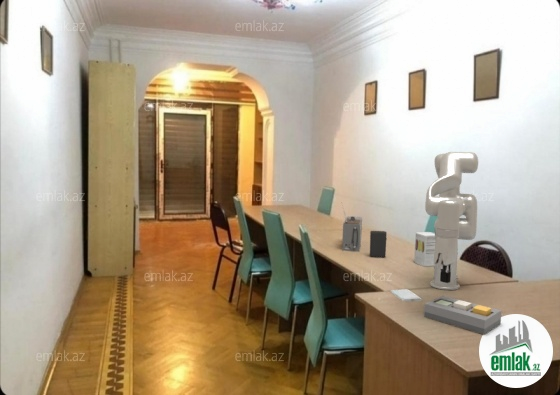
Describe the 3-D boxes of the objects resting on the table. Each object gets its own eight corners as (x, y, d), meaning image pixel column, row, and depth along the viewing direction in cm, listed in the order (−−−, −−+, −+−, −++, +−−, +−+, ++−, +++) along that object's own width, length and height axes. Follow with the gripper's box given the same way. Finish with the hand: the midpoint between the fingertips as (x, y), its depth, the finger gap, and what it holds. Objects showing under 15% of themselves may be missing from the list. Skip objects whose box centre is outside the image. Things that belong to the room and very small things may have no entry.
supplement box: (413, 262, 249) (414, 232, 247) (427, 261, 252) (429, 231, 250) (424, 266, 240) (425, 235, 238) (438, 265, 243) (440, 234, 241)
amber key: (477, 311, 162) (478, 304, 162) (491, 315, 159) (491, 308, 159) (472, 314, 159) (472, 307, 159) (485, 318, 156) (486, 311, 156)
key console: (442, 307, 177) (442, 295, 177) (500, 324, 162) (501, 310, 161) (424, 316, 168) (424, 303, 167) (484, 334, 152) (485, 320, 151)
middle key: (458, 306, 168) (459, 300, 167) (471, 309, 164) (471, 303, 164) (453, 309, 164) (453, 302, 164) (465, 312, 161) (466, 306, 161)
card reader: (385, 256, 262) (386, 230, 261) (386, 258, 259) (387, 232, 257) (369, 255, 264) (370, 230, 262) (369, 257, 260) (370, 231, 258)
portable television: (361, 244, 296) (363, 198, 293) (359, 252, 273) (361, 202, 270) (343, 243, 299) (344, 197, 296) (339, 250, 276) (341, 201, 273)
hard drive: (390, 290, 196) (403, 299, 184) (408, 289, 198) (422, 297, 186) (390, 293, 197) (403, 302, 184) (407, 292, 198) (421, 301, 186)
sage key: (440, 306, 173) (441, 299, 172) (452, 309, 169) (452, 303, 169) (434, 309, 170) (435, 302, 169) (446, 312, 166) (446, 305, 166)
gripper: (447, 229, 174) (445, 275, 176) (428, 234, 164) (425, 283, 166) (466, 232, 169) (464, 280, 171) (447, 237, 159) (445, 288, 161)
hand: (445, 281), depth 168 cm, fingers closed
